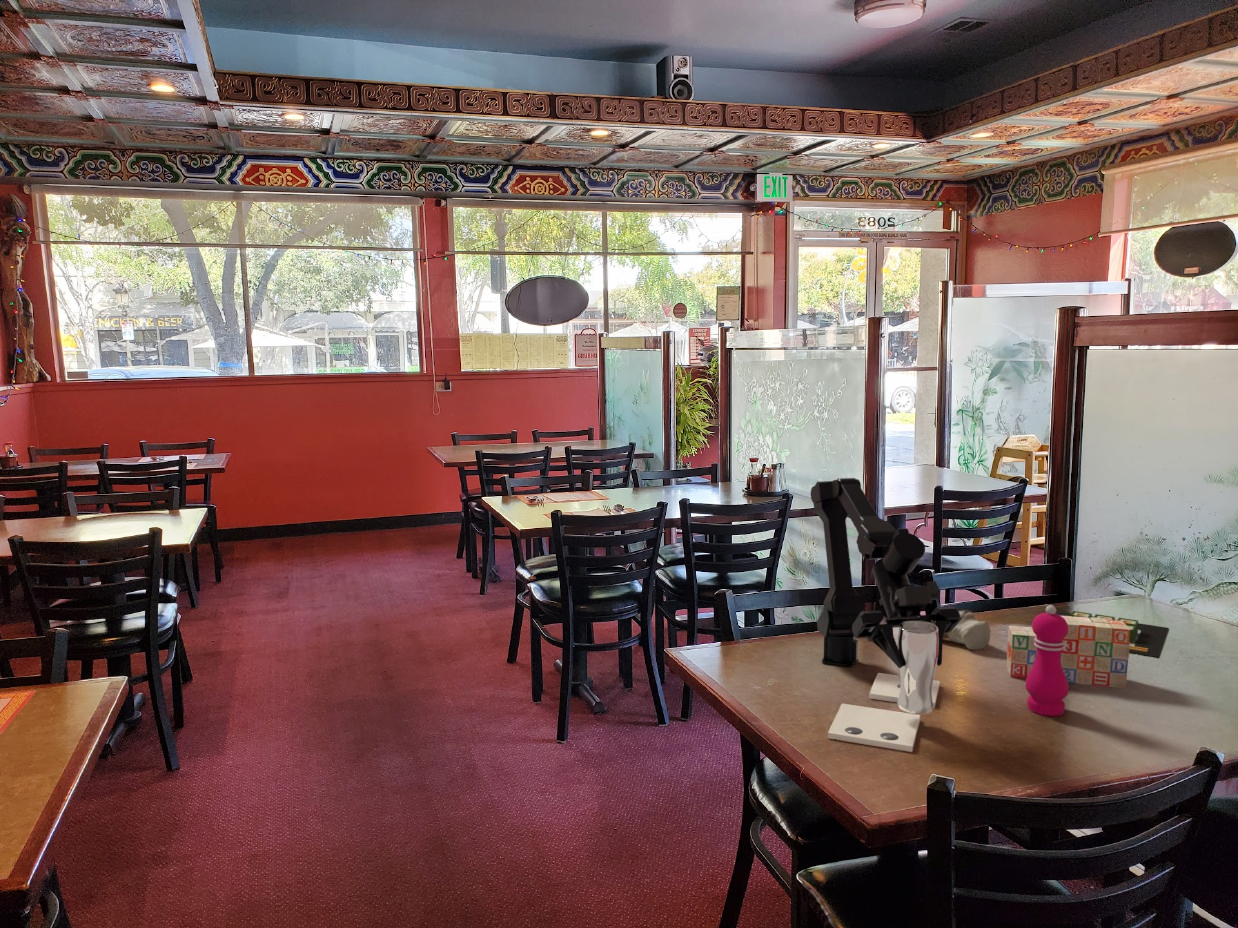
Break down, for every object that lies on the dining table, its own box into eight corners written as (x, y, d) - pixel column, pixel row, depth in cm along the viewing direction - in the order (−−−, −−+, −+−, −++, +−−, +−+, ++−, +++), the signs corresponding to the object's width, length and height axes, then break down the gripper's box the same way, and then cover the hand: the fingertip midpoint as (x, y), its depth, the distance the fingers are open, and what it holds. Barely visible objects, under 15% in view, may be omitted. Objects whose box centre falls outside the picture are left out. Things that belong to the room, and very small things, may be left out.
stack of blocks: (1009, 677, 182) (1012, 619, 181) (1006, 667, 188) (1008, 611, 187) (1126, 688, 176) (1130, 628, 174) (1119, 677, 182) (1123, 619, 180)
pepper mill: (1016, 702, 169) (1021, 600, 166) (1053, 701, 170) (1058, 599, 167) (1037, 718, 162) (1043, 611, 159) (1075, 716, 162) (1081, 610, 160)
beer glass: (932, 718, 154) (936, 636, 151) (891, 710, 157) (894, 630, 155) (938, 701, 160) (942, 623, 158) (898, 694, 164) (901, 617, 161)
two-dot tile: (827, 738, 154) (827, 732, 154) (841, 708, 167) (841, 703, 167) (912, 752, 149) (912, 746, 149) (920, 720, 161) (920, 714, 161)
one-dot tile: (869, 698, 172) (869, 693, 172) (877, 677, 183) (877, 672, 183) (934, 707, 167) (935, 702, 167) (939, 685, 178) (939, 680, 178)
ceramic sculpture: (967, 617, 194) (921, 603, 208) (967, 656, 195) (921, 639, 209) (1005, 611, 198) (957, 598, 212) (1005, 650, 198) (957, 634, 212)
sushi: (1033, 639, 207) (1034, 624, 207) (1053, 613, 227) (1054, 599, 227) (1158, 661, 193) (1159, 644, 192) (1168, 631, 213) (1169, 616, 212)
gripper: (860, 567, 158) (885, 648, 148) (958, 563, 160) (989, 642, 151) (841, 598, 166) (864, 676, 157) (935, 593, 169) (963, 670, 160)
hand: (920, 665), depth 156 cm, fingers closed on beer glass, 7 cm apart
